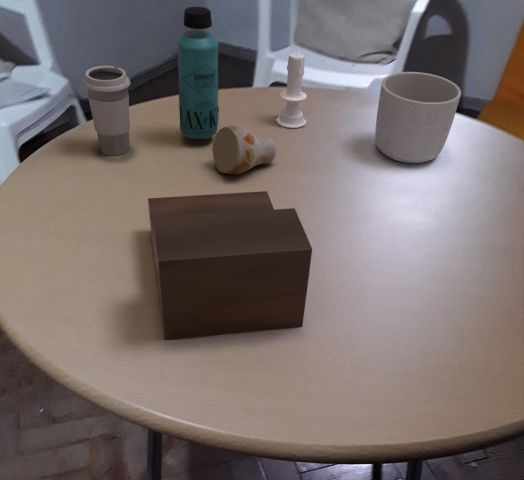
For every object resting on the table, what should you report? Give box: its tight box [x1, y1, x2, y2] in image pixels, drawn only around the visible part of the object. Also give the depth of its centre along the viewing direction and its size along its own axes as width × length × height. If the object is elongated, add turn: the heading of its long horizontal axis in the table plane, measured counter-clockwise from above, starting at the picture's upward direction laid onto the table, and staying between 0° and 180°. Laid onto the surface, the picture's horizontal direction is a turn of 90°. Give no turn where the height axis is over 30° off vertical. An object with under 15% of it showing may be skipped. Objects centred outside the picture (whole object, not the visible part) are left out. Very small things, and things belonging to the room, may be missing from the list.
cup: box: [82, 65, 131, 156], centre depth 97 cm, size 7×7×12 cm
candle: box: [275, 50, 308, 129], centre depth 108 cm, size 5×5×12 cm
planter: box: [374, 71, 462, 164], centre depth 102 cm, size 12×12×11 cm
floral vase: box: [211, 125, 277, 175], centre depth 97 cm, size 8×10×10 cm
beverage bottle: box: [176, 6, 220, 140], centre depth 98 cm, size 6×7×20 cm
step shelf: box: [147, 190, 313, 341], centre depth 76 cm, size 22×16×11 cm
